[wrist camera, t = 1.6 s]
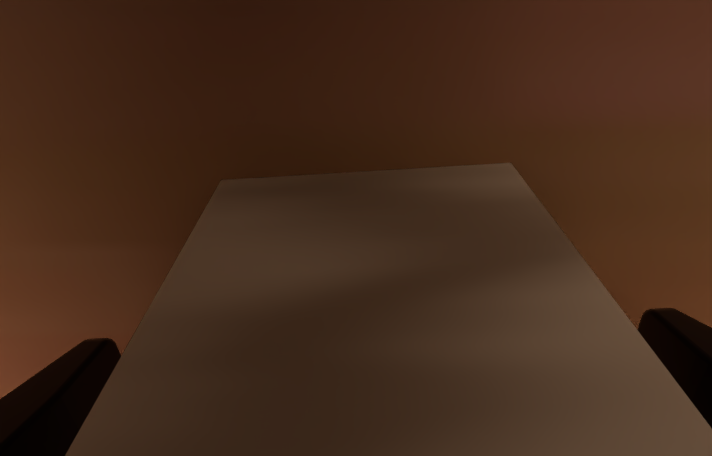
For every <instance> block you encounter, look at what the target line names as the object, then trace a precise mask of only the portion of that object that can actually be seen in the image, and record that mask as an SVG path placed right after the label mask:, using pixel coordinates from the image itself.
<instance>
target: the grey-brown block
mask: <svg viewBox="0 0 712 456" xmlns="http://www.w3.org/2000/svg"><path fill="white" fill-rule="evenodd" d="M65 456H712V428H711V427H710V426H709V424H708V423H707V422H706V420H705V419H704V418H703V416H702V415H701V414H700V412H699V411H698V410H697V408H696V407H695V406H694V404H693V403H692V402H691V400H690V399H689V398H688V396H687V395H686V394H685V392H684V391H683V390H682V388H681V387H680V386H679V385H678V383H677V382H676V381H675V379H674V378H673V377H672V375H671V374H670V373H669V371H668V370H667V369H666V367H665V366H664V365H663V363H662V362H661V361H660V359H659V358H658V357H657V355H656V354H655V353H654V351H653V350H652V349H651V347H650V346H649V345H648V343H647V342H646V341H645V340H644V338H643V337H642V336H641V334H640V333H639V332H638V330H637V329H636V328H635V326H634V325H633V324H632V322H631V321H630V320H629V318H628V317H627V316H626V314H625V313H624V312H623V310H622V309H621V308H620V306H619V305H618V304H617V302H616V301H615V300H614V299H613V297H612V296H611V295H610V293H609V292H608V291H607V289H606V288H605V287H604V285H603V284H602V283H601V281H600V280H599V279H598V277H597V276H596V275H595V273H594V272H593V271H592V269H591V268H590V267H589V265H588V264H587V263H586V261H585V260H584V259H583V257H582V256H581V255H580V254H579V252H578V251H577V250H576V248H575V247H574V246H573V244H572V243H571V242H570V240H569V239H568V238H567V236H566V235H565V234H564V232H563V231H562V230H561V228H560V227H559V226H558V224H557V223H556V222H555V220H554V219H553V218H552V216H551V215H550V214H549V212H548V211H547V210H546V209H545V207H544V206H543V205H542V203H541V202H540V201H539V199H538V198H537V197H536V195H535V194H534V193H533V191H532V190H531V189H530V187H529V186H528V185H527V183H526V182H525V181H524V179H523V178H522V177H521V175H520V174H519V173H518V171H517V170H516V169H515V168H514V166H513V165H512V164H511V163H498V164H481V165H464V166H447V167H430V168H413V169H396V170H379V171H362V172H345V173H328V174H311V175H294V176H278V177H261V178H244V179H227V180H221V181H220V183H219V184H218V186H217V188H216V190H215V191H214V193H213V195H212V197H211V198H210V200H209V202H208V204H207V206H206V207H205V209H204V211H203V213H202V214H201V216H200V218H199V220H198V221H197V223H196V225H195V227H194V229H193V230H192V232H191V234H190V236H189V237H188V239H187V241H186V243H185V244H184V246H183V248H182V250H181V251H180V253H179V255H178V257H177V259H176V260H175V262H174V264H173V266H172V267H171V269H170V271H169V273H168V274H167V276H166V278H165V280H164V282H163V283H162V285H161V287H160V289H159V290H158V292H157V294H156V296H155V297H154V299H153V301H152V303H151V305H150V306H149V308H148V310H147V312H146V313H145V315H144V317H143V319H142V320H141V322H140V324H139V326H138V328H137V329H136V331H135V333H134V335H133V336H132V338H131V340H130V342H129V343H128V345H127V347H126V349H125V351H124V352H123V354H122V356H121V358H120V359H119V361H118V363H117V365H116V366H115V368H114V370H113V372H112V373H111V375H110V377H109V379H108V381H107V382H106V384H105V386H104V388H103V389H102V391H101V393H100V395H99V396H98V398H97V400H96V402H95V404H94V405H93V407H92V409H91V411H90V412H89V414H88V416H87V418H86V419H85V421H84V423H83V425H82V427H81V428H80V430H79V432H78V434H77V435H76V437H75V439H74V441H73V442H72V444H71V446H70V448H69V450H68V451H67V453H66V455H65Z"/></svg>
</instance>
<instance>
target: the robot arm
mask: <svg viewBox="0 0 712 456" xmlns="http://www.w3.org/2000/svg"><path fill="white" fill-rule="evenodd" d="M638 332H639V333H640V334H641V336H642V337H643V338H644V340H645V341H646V342H647V343H648V345H649V346H650V347H651V349H652V350H653V351H654V353H655V354H656V355H657V357H658V358H659V359H660V361H661V362H662V363H663V365H664V366H665V367H666V369H667V370H668V371H669V373H670V374H671V375H672V377H673V378H674V379H675V381H676V382H677V383H678V385H679V386H680V387H681V388H682V390H683V391H684V392H685V394H686V395H687V396H688V398H689V399H690V400H691V402H692V403H693V404H694V406H695V407H696V408H697V410H698V411H699V412H700V414H701V415H702V416H703V418H704V419H705V420H706V422H707V423H708V424H709V426H710V427H711V428H712V328H711V327H709V326H707V325H705V324H703V323H701V322H699V321H697V320H695V319H693V318H692V317H690V316H688V315H686V314H684V313H682V312H680V311H678V310H676V309H673V308H657V309H649V310H646V311H645V312H644V313H643V315H642V318H641V321H640V324H639V327H638ZM120 358H121V354H120V352H119V350H118V347H117V345H116V343H115V342H114V341H113V340H112V339H110V338H95V339H87V340H84V341H83V342H81V343H80V344H78V345H77V346H75V347H74V348H73V349H71V350H70V351H68V352H67V353H65V354H64V355H63V356H61V357H60V358H58V359H57V360H55V361H54V362H53V363H51V364H50V365H48V366H47V367H46V368H44V369H43V370H41V371H40V372H38V373H37V374H36V375H34V376H33V377H31V378H30V379H28V380H27V381H26V382H24V383H23V384H21V385H20V386H18V387H17V388H16V389H14V390H13V391H11V392H10V393H8V394H7V395H6V396H4V397H3V398H1V399H0V456H65V455H66V453H67V451H68V450H69V448H70V446H71V444H72V442H73V441H74V439H75V437H76V435H77V434H78V432H79V430H80V428H81V427H82V425H83V423H84V421H85V419H86V418H87V416H88V414H89V412H90V411H91V409H92V407H93V405H94V404H95V402H96V400H97V398H98V396H99V395H100V393H101V391H102V389H103V388H104V386H105V384H106V382H107V381H108V379H109V377H110V375H111V373H112V372H113V370H114V368H115V366H116V365H117V363H118V361H119V359H120Z"/></svg>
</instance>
